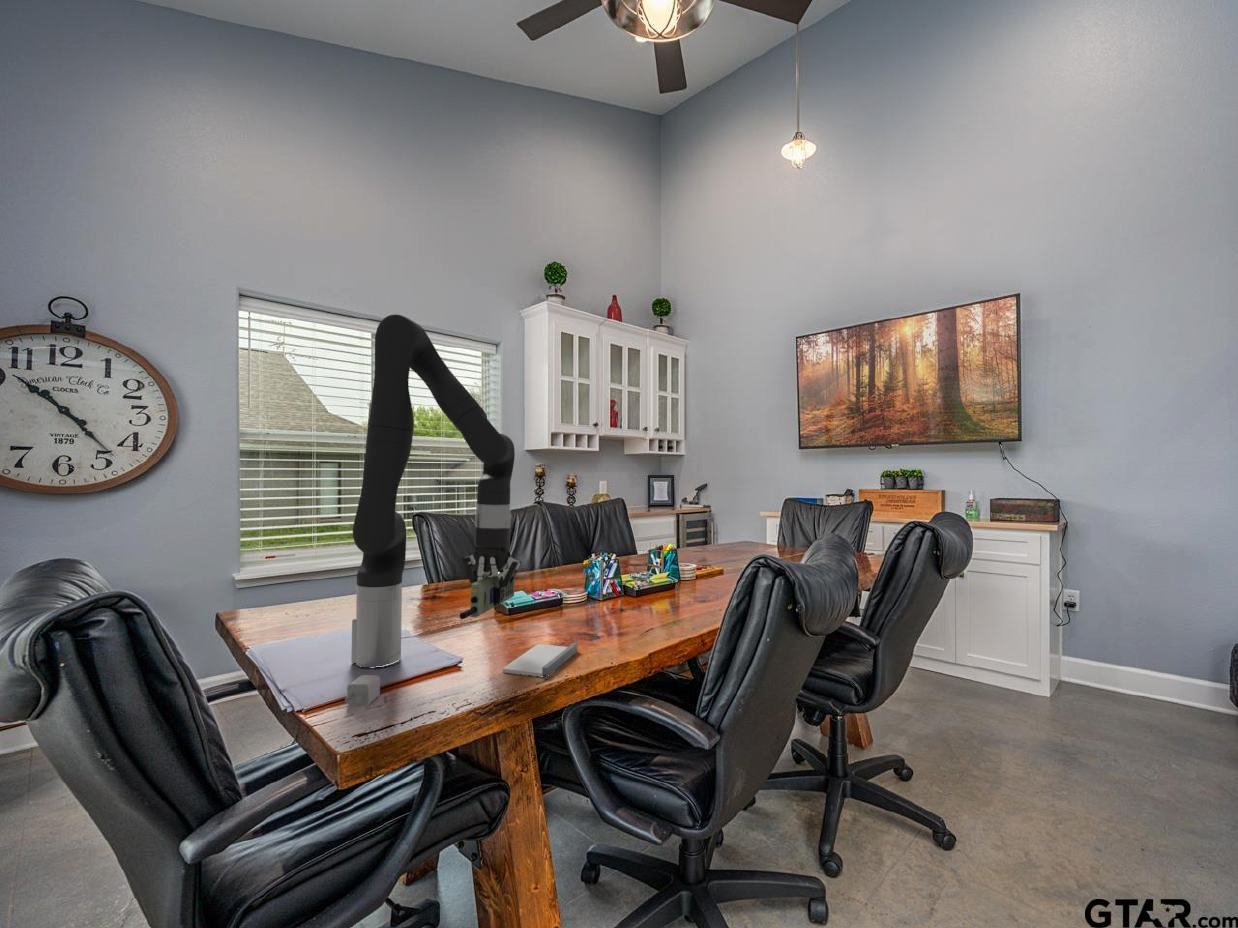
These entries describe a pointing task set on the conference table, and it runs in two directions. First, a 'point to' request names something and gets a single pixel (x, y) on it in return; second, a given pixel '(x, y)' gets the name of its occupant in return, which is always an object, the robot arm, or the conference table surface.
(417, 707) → the conference table surface
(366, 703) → the usb wall charger
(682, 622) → the conference table surface
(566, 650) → the charging dock
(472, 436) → the robot arm
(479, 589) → the handheld radio
